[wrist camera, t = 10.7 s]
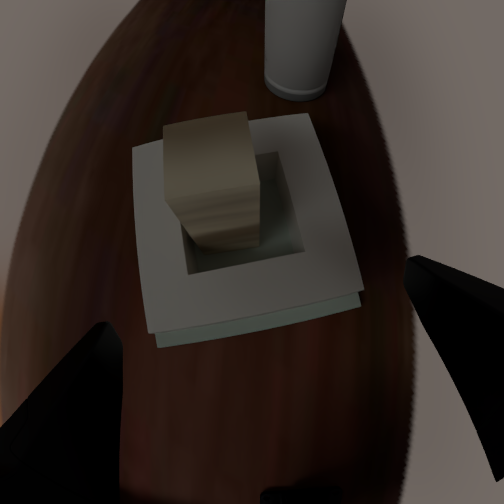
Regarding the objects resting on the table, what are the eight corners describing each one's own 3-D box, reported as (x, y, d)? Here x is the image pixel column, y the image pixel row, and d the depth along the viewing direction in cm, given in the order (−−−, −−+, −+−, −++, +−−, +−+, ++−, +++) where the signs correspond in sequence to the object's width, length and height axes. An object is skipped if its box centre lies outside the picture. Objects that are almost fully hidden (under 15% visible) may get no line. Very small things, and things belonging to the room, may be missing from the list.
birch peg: (259, 246, 22) (260, 184, 12) (204, 255, 22) (164, 199, 12) (250, 196, 23) (246, 111, 13) (199, 205, 23) (163, 126, 13)
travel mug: (249, 76, 27) (241, -104, 7) (300, 57, 27) (318, -103, 8) (286, 112, 25) (307, -97, 6) (338, 90, 26) (384, -85, 7)
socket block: (358, 306, 21) (382, 301, 17) (160, 347, 21) (136, 351, 16) (308, 136, 25) (316, 102, 20) (140, 169, 24) (120, 141, 20)
